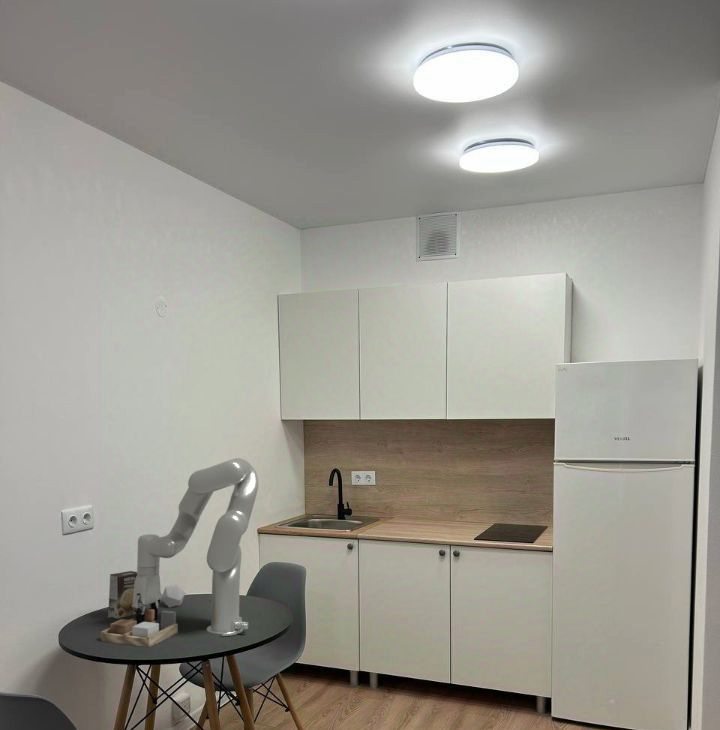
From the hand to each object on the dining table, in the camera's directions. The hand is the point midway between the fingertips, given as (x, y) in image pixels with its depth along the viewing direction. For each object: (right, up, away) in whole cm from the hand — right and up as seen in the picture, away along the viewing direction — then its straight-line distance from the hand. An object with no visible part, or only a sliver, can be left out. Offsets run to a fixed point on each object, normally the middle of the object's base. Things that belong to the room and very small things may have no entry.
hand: (146, 622), depth 244 cm
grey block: (+6, -1, -10) cm, 12 cm away
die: (+1, -5, +31) cm, 32 cm away
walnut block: (-2, -1, -7) cm, 8 cm away
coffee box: (-13, -4, +15) cm, 21 cm away
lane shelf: (+2, -2, -8) cm, 8 cm away
